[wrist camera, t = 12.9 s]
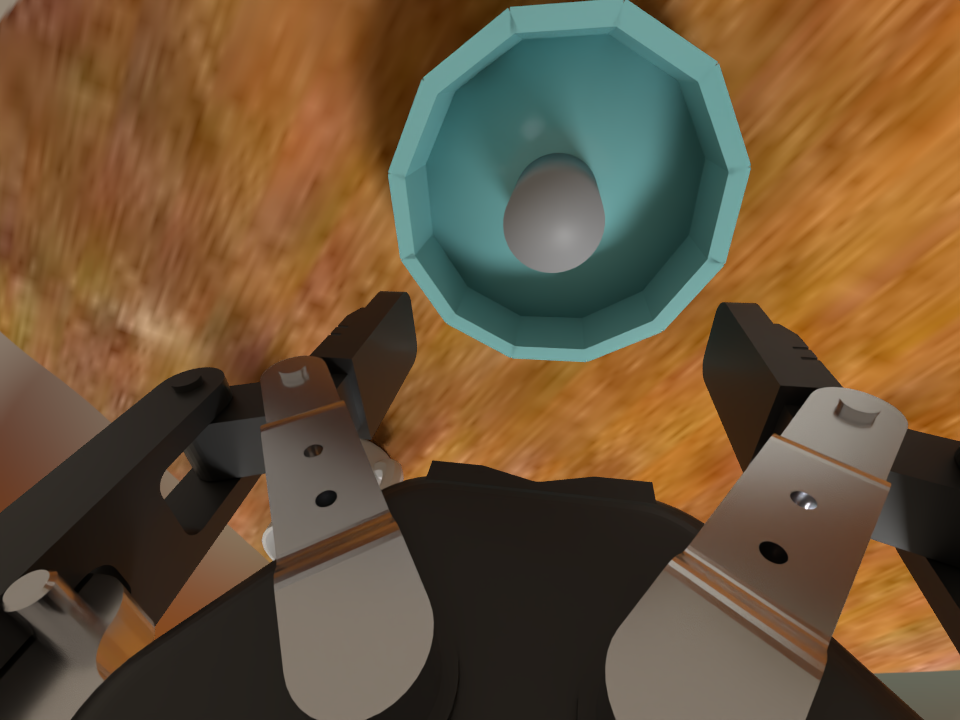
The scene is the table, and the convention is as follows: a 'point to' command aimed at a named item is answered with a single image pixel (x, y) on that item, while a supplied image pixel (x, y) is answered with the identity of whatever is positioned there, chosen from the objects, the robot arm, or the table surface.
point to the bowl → (593, 139)
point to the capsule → (554, 214)
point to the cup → (384, 473)
